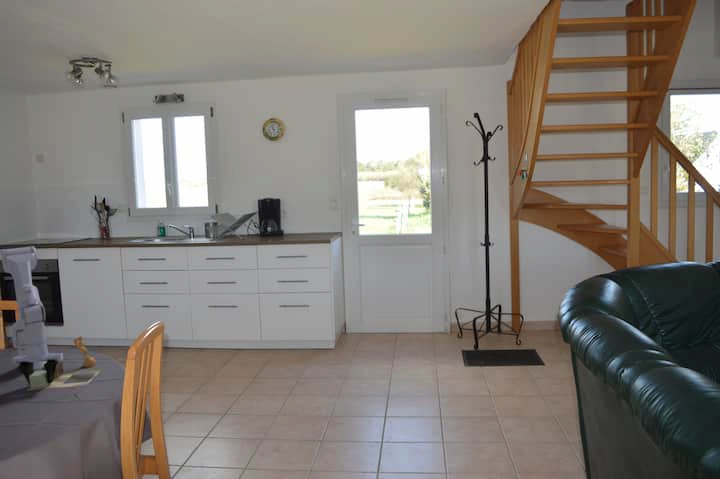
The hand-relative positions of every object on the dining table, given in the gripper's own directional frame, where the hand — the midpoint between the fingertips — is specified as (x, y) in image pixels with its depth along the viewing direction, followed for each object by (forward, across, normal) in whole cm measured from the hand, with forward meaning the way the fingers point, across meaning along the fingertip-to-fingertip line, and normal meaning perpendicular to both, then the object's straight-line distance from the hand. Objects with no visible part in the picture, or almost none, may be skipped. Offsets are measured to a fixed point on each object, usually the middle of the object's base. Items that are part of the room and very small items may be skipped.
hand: (41, 383), depth 173 cm
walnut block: (+1, 0, +8) cm, 8 cm away
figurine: (+2, +8, +16) cm, 18 cm away
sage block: (+1, 0, 0) cm, 1 cm away
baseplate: (+2, +6, +4) cm, 7 cm away
